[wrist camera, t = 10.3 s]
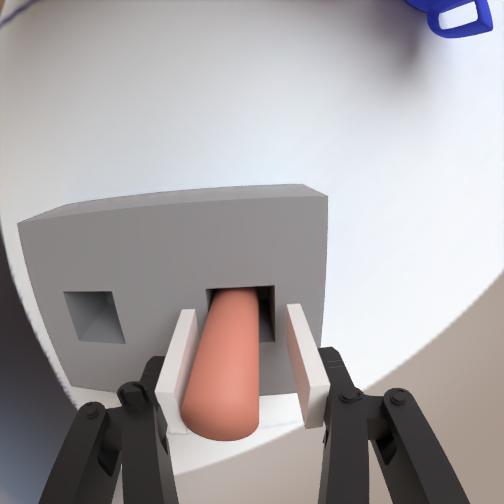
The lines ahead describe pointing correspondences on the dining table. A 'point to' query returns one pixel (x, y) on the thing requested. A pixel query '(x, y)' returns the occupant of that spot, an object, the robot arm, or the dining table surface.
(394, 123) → the dining table surface
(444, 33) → the mug
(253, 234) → the hole block
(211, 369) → the pin
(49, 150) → the dining table surface
